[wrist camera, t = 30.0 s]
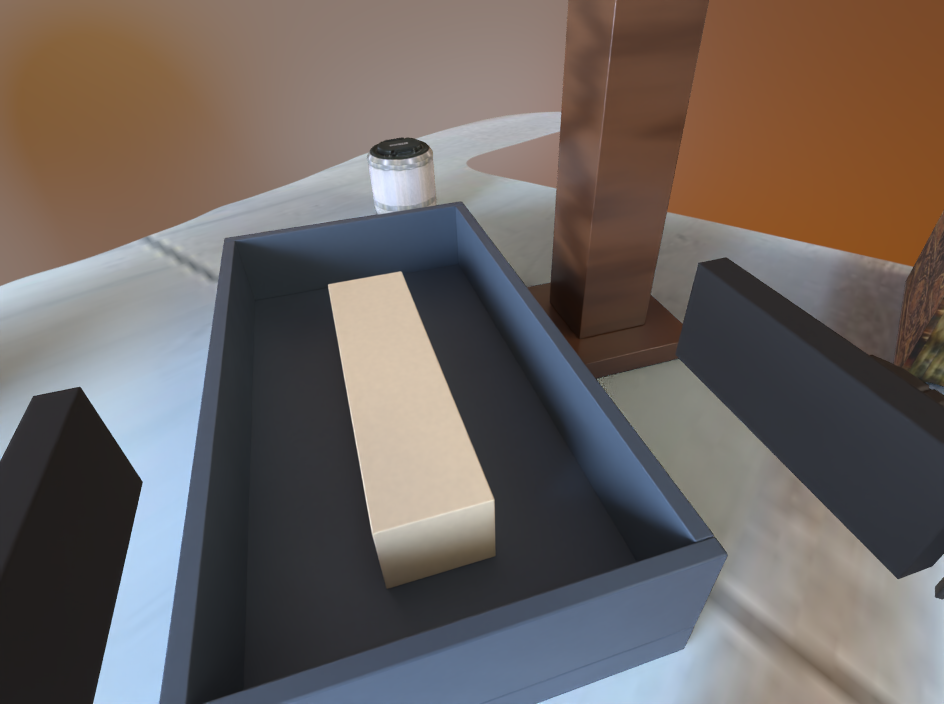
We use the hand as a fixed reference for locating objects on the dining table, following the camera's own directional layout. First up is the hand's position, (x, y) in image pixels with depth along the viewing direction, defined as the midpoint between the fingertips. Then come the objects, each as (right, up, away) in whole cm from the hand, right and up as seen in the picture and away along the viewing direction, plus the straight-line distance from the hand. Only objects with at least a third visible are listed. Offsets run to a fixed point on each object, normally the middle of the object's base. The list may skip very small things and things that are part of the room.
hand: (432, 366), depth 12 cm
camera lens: (-6, +14, +44) cm, 46 cm away
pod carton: (-3, -4, +18) cm, 19 cm away
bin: (-3, -5, +20) cm, 21 cm away
